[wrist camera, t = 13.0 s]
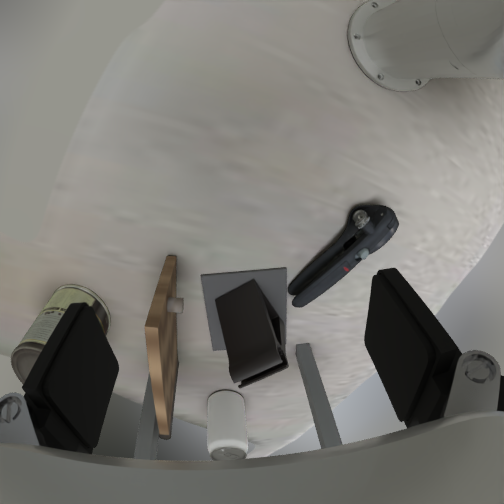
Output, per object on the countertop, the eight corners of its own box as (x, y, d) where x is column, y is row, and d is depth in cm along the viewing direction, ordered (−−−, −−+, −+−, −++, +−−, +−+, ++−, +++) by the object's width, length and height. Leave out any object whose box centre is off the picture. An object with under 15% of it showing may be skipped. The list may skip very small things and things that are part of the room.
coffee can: (124, 317, 43) (98, 390, 30) (88, 348, 45) (62, 414, 33) (72, 270, 39) (26, 333, 26) (41, 307, 41) (1, 367, 29)
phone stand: (284, 323, 45) (301, 385, 34) (248, 341, 46) (255, 404, 35) (254, 277, 41) (265, 338, 31) (214, 298, 42) (213, 362, 31)
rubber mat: (286, 267, 42) (286, 268, 41) (285, 342, 47) (286, 343, 47) (201, 274, 41) (200, 276, 41) (213, 349, 47) (213, 350, 46)
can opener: (369, 185, 38) (389, 197, 33) (396, 221, 40) (417, 237, 35) (270, 277, 42) (276, 301, 37) (303, 305, 45) (313, 330, 40)
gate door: (187, 367, 47) (182, 441, 35) (168, 365, 47) (159, 439, 34) (189, 257, 39) (175, 329, 27) (165, 255, 39) (142, 326, 26)
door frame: (309, 342, 48) (349, 465, 28) (308, 353, 49) (345, 473, 29) (153, 355, 46) (130, 480, 27) (156, 366, 48) (137, 488, 28)
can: (225, 384, 50) (228, 443, 40) (251, 399, 53) (257, 455, 42) (200, 399, 52) (198, 456, 41) (225, 414, 54) (228, 468, 44)
